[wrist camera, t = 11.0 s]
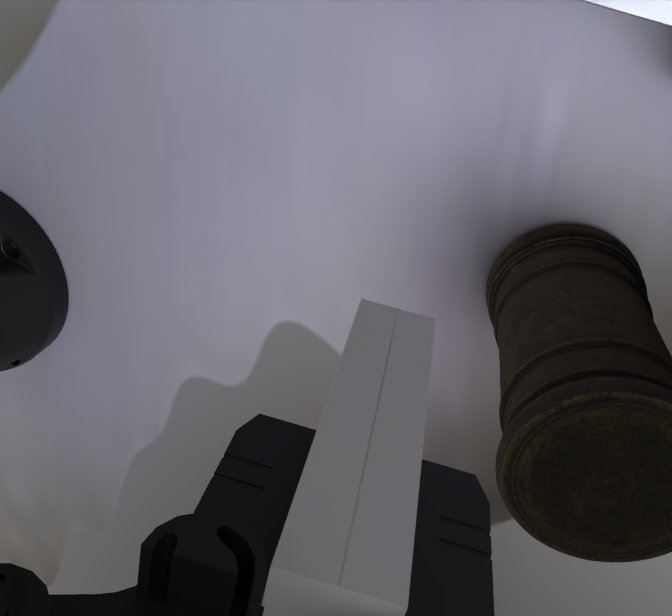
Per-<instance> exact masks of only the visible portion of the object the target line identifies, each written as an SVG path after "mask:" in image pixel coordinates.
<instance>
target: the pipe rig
mask: <svg viewBox="0 0 672 616" xmlns="http://www.w3.org/2000/svg"><path fill="white" fill-rule="evenodd" d="M580 1H583V2H587V3H590V4H594V5H597V6H601V7H604V8H608V9H611V10H615V11H618V12H622V13H625V14H628V15H632V16H635V17H639V18H642V19H646V20H649V21H653V22H656V23H660V24H663V25H667V26H670V27H672V0H580Z"/></svg>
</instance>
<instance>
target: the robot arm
mask: <svg viewBox="0 0 672 616" xmlns="http://www.w3.org/2000/svg"><path fill="white" fill-rule="evenodd" d="M67 311H68V289H67V283H66V278H65V274H64V271H63V268H62V265H61V262H60V260H59V258H58V255H57V254H56V252H55V250H54V248H53V246H52V244H51V243H50V241H49V239H48V238H47V236H46V235H45V233H44V232H43V231H42V229H41V228H40V227H39V226H38V224H37V223H36V222H35V221H34V220H33V219H32V218H31V217H30V215H28V214H27V213H26V212H25V211H24V210H23V209H22V208H21V207H20V206H19V205H18V204H16V203H15V202H14V201H12V200H11V199H10V198H8V197H7V196H5V195H4V194H2V193H1V192H0V371H4V370H8V369H12V368H15V367H17V366H20V365H22V364H24V363H26V362H28V361H29V360H31V359H32V358H34V357H35V356H36V355H37V354H39V353H40V352H41V351H42V350H44V349H45V348H46V347H47V346H49V345H50V344H51V343H52V342H53V341H54V340H55V339H56V337H57V336H58V335H59V333H60V332H61V330H62V328H63V325H64V323H65V320H66V316H67ZM434 327H435V319H433V318H429V317H425V316H422V315H418V314H415V313H411V312H408V311H404V310H400V309H397V308H393V307H390V306H386V305H383V304H379V303H375V302H372V301H368V300H365V299H361V301H360V304H359V307H358V310H357V313H356V316H355V319H354V322H353V325H352V328H351V331H350V334H349V337H348V340H347V342H346V345H345V348H344V351H343V354H342V357H341V360H340V363H339V366H338V369H337V372H336V375H335V378H334V381H333V384H332V387H331V390H330V393H329V396H328V399H327V401H326V404H325V407H324V410H323V413H322V416H321V419H320V422H319V425H318V428H317V430H314V429H310V428H307V427H303V426H299V425H297V424H293V423H290V422H286V421H283V420H279V419H276V418H272V417H269V416H266V415H263V414H258V415H257V416H256V417H254V418H253V419H251V420H250V421H249V422H247V423H246V424H244V425H243V426H242V427H240V428H239V429H237V431H236V432H235V434H234V437H233V438H232V440H231V442H230V444H229V446H228V448H227V450H226V452H225V454H224V457H223V458H222V459H221V461H220V463H219V465H218V467H217V469H216V471H215V473H214V476H213V478H212V479H211V481H210V483H209V484H208V486H207V488H206V490H205V492H204V494H203V496H202V498H201V500H200V502H199V504H198V505H197V507H196V509H195V511H194V513H193V514H188V515H182V516H177V517H175V518H173V519H171V520H169V521H168V522H166V523H164V524H162V525H160V526H158V527H156V528H155V529H154V531H153V532H152V533H151V534H150V535H149V536H148V537H147V538H146V540H145V541H144V542H143V543H142V544H141V552H140V562H139V573H138V584H137V585H136V586H134V587H131V588H128V589H125V590H122V591H119V592H114V593H104V594H82V595H81V594H78V595H49V594H48V590H47V586H46V585H45V584H44V583H43V582H42V581H41V580H40V579H39V578H38V577H37V576H36V575H35V574H34V573H33V572H32V571H30V570H27V569H25V568H22V567H19V566H16V565H14V564H11V563H0V616H494V601H493V600H494V598H493V577H492V576H493V575H492V560H491V553H492V552H491V536H489V535H490V530H491V529H490V506H489V501H488V499H487V497H486V495H485V493H484V491H483V489H482V487H481V485H480V483H479V481H478V479H477V477H476V475H474V474H471V473H467V472H464V471H460V470H457V469H454V468H450V467H447V466H443V465H440V464H437V463H433V462H430V461H426V460H423V459H422V453H423V443H424V432H425V422H426V411H427V401H428V390H429V380H430V369H431V359H432V348H433V338H434Z"/></svg>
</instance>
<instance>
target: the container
mask: <svg viewBox="0 0 672 616" xmlns="http://www.w3.org/2000/svg"><path fill="white" fill-rule="evenodd" d="M486 301H487V306H488V311H489V316H490V319H491V322H492V325H493V327H494V333H495V338H496V342H497V345H498V347H499V356H500V387H501V402H500V408H499V415H500V425H501V429H502V432H503V435H502V439H501V441H500V444H499V447H498V451H497V456H496V480H497V485H498V489H499V491H500V494H501V497H502V499H503V501H504V503H505V505H506V507H507V509H508V510H509V512H510V513H511V515H512V516H513V517H514V519H515V520H516V521H517V522H518V523H519V524H520V526H521V527H522V528H523V529H524V530H526V532H528V533H529V534H530V535H531V536H532V537H534V538H535V539H537V540H538V541H540V542H541V543H543V544H545V545H547V546H548V547H550V548H553V549H555V550H557V551H559V552H562V553H565V554H567V555H570V556H574V557H577V558H581V559H586V560H591V561H601V562H631V561H639V560H645V559H650V558H654V557H658V556H661V555H665V554H667V553H670V552H672V357H671V355H670V353H669V351H668V349H667V347H666V345H665V343H664V341H663V339H662V337H661V335H660V333H659V331H658V329H657V327H656V325H655V323H654V321H653V313H652V309H651V306H650V303H649V301H648V296H647V289H646V284H645V281H644V278H643V276H642V272H641V269H640V267H639V265H638V263H637V261H636V259H635V257H634V256H633V254H632V253H631V252H630V250H629V249H628V248H627V247H626V246H625V245H624V244H623V243H621V242H620V241H619V240H617V239H616V238H615V237H613V236H611V235H609V234H607V233H605V232H603V231H601V230H598V229H595V228H591V227H587V226H582V225H571V224H565V225H555V226H549V227H545V228H542V229H539V230H536V231H534V232H531V233H529V234H527V235H525V236H523V237H522V238H520V239H519V240H517V241H516V242H515V243H513V244H512V245H511V246H510V247H509V248H508V249H507V250H506V251H505V252H504V253H503V254H502V255H501V256H500V257H499V259H498V260H497V261H496V263H495V264H494V266H493V268H492V270H491V272H490V274H489V277H488V281H487V286H486Z"/></svg>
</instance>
